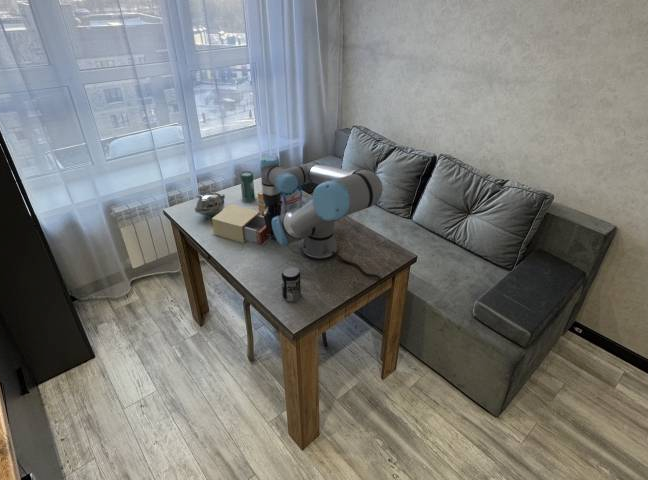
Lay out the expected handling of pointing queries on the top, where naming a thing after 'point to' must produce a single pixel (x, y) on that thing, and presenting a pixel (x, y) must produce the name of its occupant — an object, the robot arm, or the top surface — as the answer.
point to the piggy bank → (210, 204)
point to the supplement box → (261, 203)
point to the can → (247, 186)
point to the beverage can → (291, 283)
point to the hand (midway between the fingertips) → (274, 238)
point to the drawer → (257, 230)
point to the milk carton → (291, 200)
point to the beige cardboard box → (233, 222)
